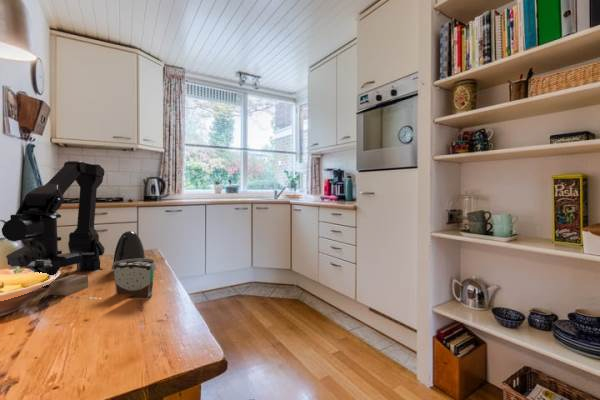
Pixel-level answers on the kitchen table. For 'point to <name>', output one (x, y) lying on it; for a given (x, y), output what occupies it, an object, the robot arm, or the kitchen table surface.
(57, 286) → the grey rectangular block
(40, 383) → the kitchen table surface
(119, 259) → the dark grey rounded cone
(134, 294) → the food container
